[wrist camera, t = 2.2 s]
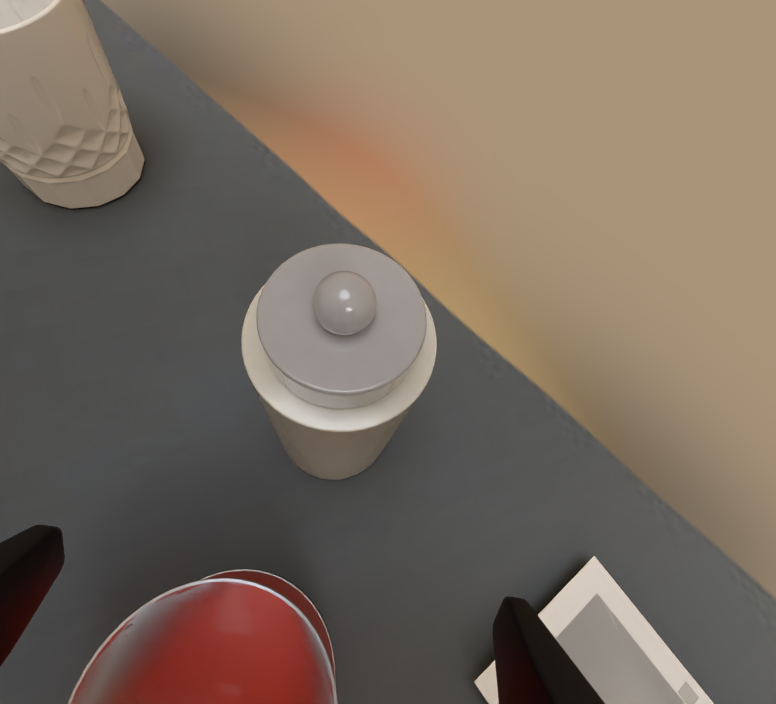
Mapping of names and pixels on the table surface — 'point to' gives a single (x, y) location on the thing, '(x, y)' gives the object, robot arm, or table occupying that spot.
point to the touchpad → (610, 645)
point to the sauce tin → (216, 647)
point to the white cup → (62, 106)
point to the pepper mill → (338, 355)
